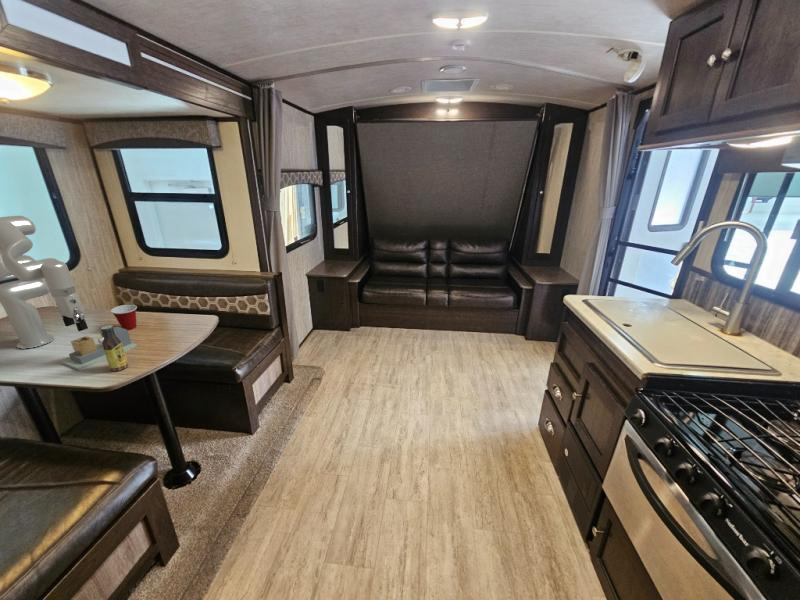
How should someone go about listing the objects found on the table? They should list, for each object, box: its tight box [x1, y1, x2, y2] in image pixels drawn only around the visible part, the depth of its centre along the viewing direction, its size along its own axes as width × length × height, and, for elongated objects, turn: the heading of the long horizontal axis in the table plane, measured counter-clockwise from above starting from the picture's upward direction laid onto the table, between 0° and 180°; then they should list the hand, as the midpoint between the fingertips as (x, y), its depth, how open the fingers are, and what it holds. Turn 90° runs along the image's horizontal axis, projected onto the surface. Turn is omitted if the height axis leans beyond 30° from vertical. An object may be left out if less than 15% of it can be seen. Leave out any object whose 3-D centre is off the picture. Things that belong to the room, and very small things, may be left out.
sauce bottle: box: [100, 325, 129, 372], centre depth 139 cm, size 6×6×20 cm
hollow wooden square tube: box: [70, 335, 98, 356], centre depth 146 cm, size 6×6×6 cm
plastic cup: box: [110, 304, 138, 331], centre depth 175 cm, size 11×11×12 cm
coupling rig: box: [60, 326, 138, 372], centre depth 151 cm, size 14×23×9 cm, turn 157°
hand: (76, 327), depth 143 cm, fingers open, 9 cm apart
